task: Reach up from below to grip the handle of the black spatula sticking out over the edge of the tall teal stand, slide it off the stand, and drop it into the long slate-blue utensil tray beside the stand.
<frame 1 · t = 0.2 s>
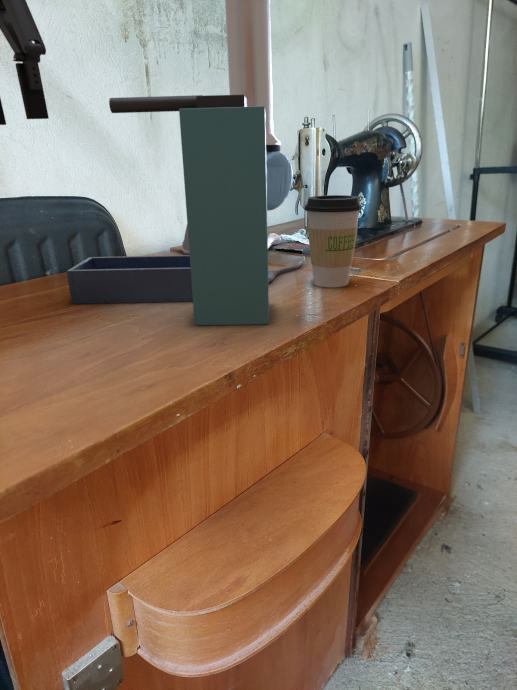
hand: (15, 122, 73), 28 cm above the table, tool pointing down, fingers open, 13 cm apart
utensil tray: (147, 293, 90), on the table
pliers: (277, 273, 102), on the table, touching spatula
alphabet block: (152, 272, 107), on the table
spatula: (268, 253, 121), on the table, touching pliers
black spatula: (195, 110, 67), point 28 cm above the table, touching teal stand
coffee cup: (331, 284, 94), on the table
teal stand: (233, 315, 77), on the table
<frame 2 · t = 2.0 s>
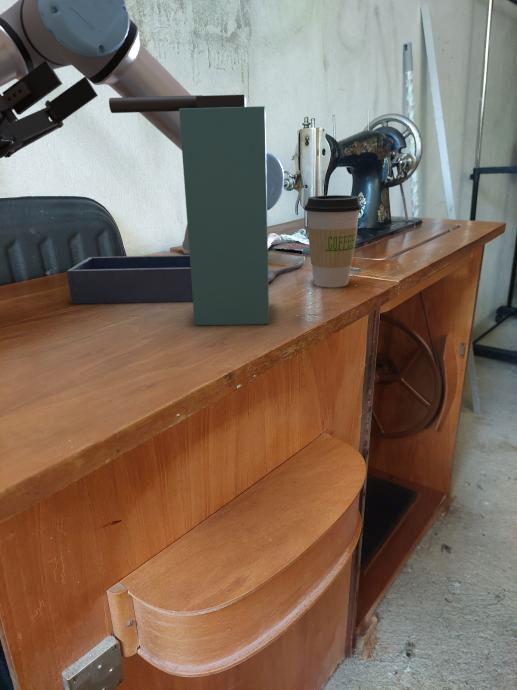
hand: (74, 79, 66), 32 cm above the table, tool pointing upward, fingers open, 13 cm apart
nothing on the table moved.
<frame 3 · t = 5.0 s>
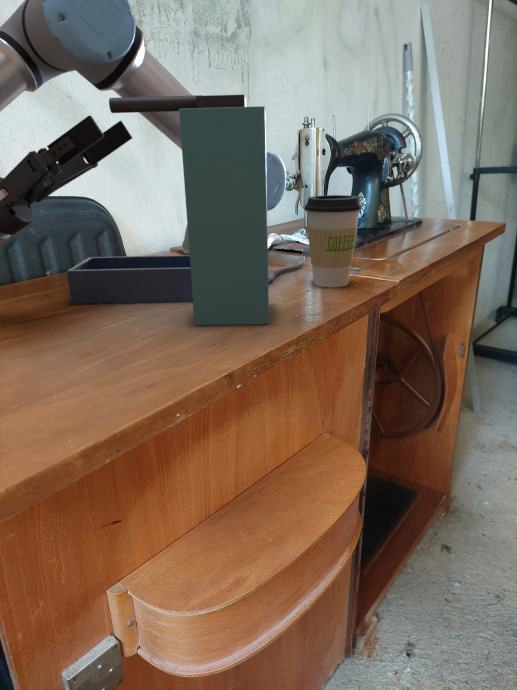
hand: (113, 127, 68), 26 cm above the table, tool pointing upward, fingers open, 13 cm apart
nothing on the table moved.
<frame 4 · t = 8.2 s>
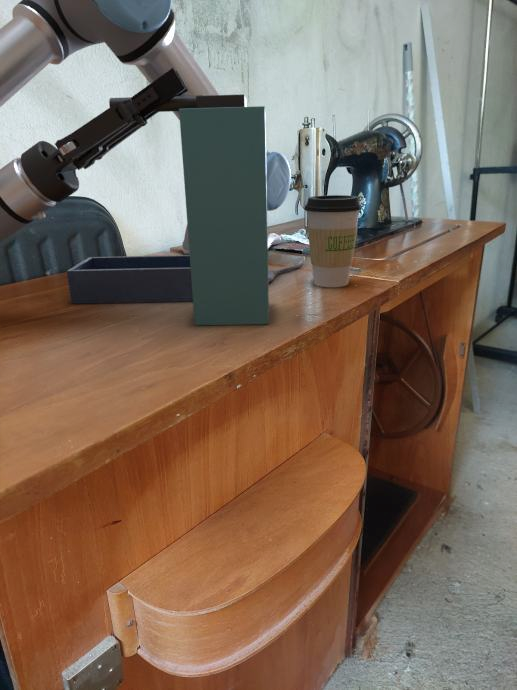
hand: (180, 79, 66), 32 cm above the table, tool pointing upward, fingers closed on black spatula, 2 cm apart
black spatula: (195, 110, 67), point 28 cm above the table, touching gripper, teal stand
everything else where it was.
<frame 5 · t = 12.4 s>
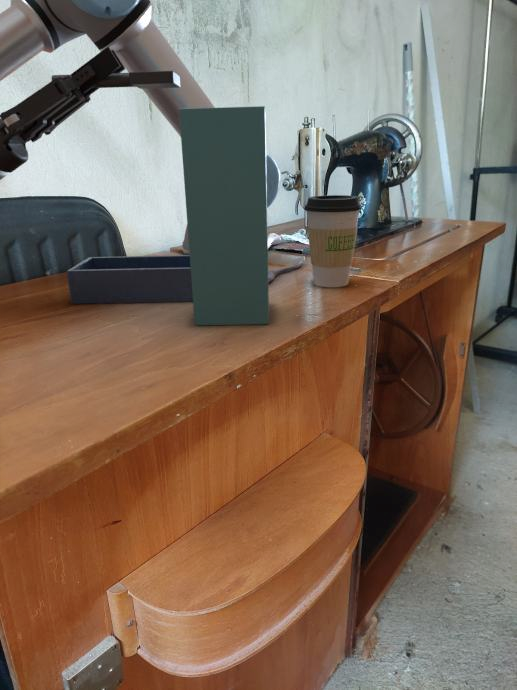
hand: (116, 58, 72), 35 cm above the table, tool pointing upward, fingers closed on black spatula, 2 cm apart
black spatula: (131, 86, 73), point 32 cm above the table, touching gripper
everything else where it was.
when the fingers open (22 cm above the table, at t = 16.6 s): black spatula drops 18 cm, resting on utensil tray.
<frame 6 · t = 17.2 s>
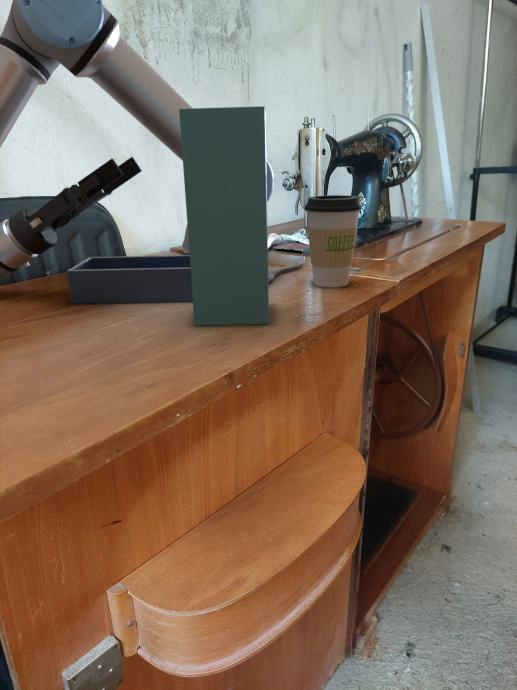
hand: (128, 165, 83), 21 cm above the table, tool pointing upward, fingers open, 11 cm apart
black spatula: (157, 290, 90), resting on utensil tray
everything else where it was.
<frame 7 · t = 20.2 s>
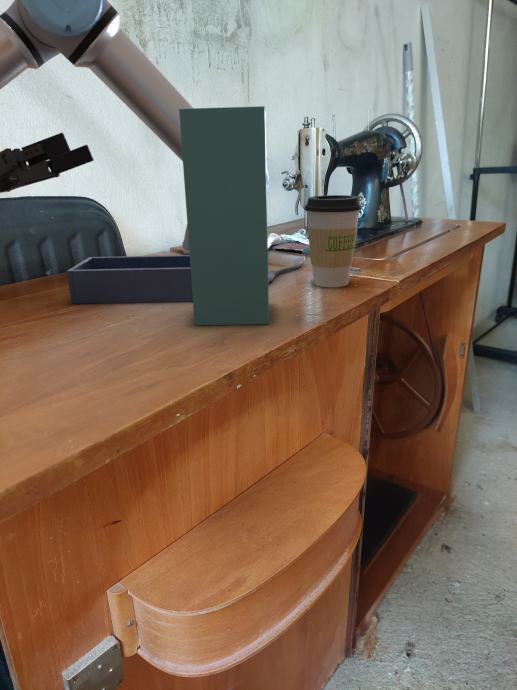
hand: (79, 147, 84), 24 cm above the table, tool pointing upward, fingers open, 13 cm apart
nothing on the table moved.
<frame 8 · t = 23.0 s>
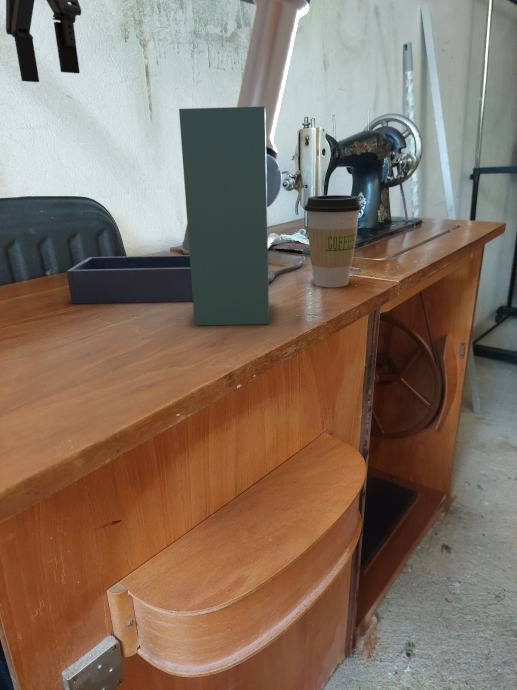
hand: (49, 77, 83), 35 cm above the table, tool pointing down, fingers open, 13 cm apart
nothing on the table moved.
at the end: black spatula inside the target area in the utensil tray (1.9 cm from its centre), point 0.5 cm above the utensil tray's base; the gripper is holding nothing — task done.
